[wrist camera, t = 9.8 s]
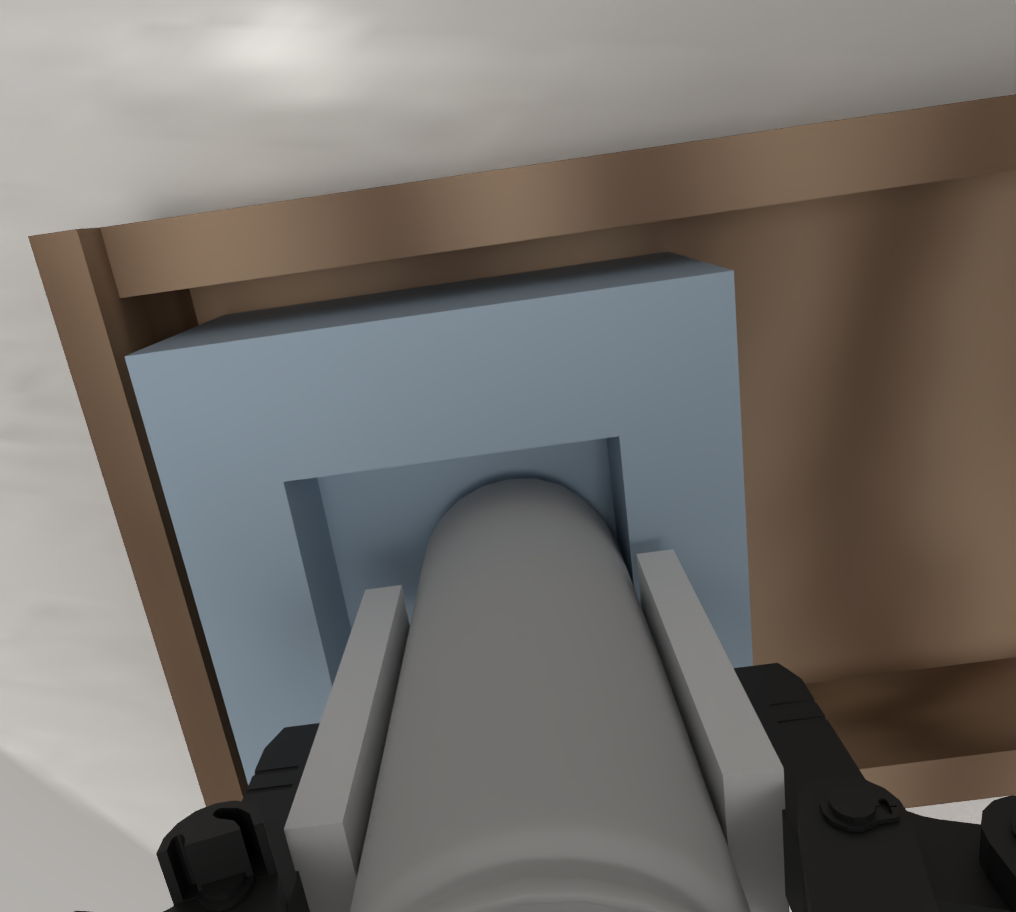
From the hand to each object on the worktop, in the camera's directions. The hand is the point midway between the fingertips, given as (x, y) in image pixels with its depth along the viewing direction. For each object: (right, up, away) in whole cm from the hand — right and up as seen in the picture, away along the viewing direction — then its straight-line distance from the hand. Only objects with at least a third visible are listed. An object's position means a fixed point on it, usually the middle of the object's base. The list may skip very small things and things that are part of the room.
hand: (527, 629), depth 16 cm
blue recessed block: (-1, +2, +7) cm, 7 cm away
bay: (+4, +3, +8) cm, 9 cm away
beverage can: (0, +1, +3) cm, 3 cm away
